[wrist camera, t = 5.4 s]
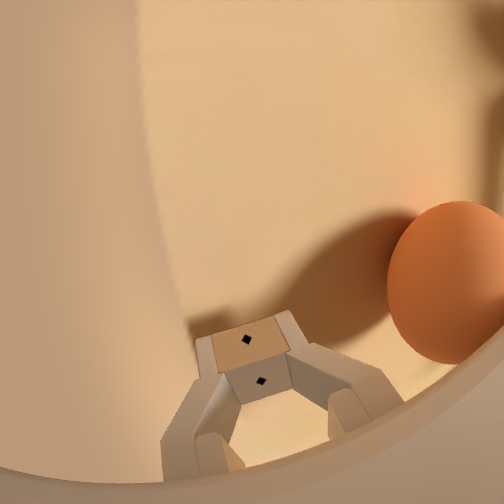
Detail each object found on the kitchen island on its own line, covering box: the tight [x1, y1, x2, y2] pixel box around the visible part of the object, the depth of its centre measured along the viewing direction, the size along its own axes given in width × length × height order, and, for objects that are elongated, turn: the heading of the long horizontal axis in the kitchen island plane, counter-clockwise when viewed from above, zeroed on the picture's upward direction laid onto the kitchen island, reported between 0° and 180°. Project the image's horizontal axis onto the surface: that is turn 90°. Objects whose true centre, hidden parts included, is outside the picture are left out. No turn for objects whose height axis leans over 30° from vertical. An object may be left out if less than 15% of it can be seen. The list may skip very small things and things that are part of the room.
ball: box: [387, 201, 504, 365], centre depth 8 cm, size 6×6×6 cm
